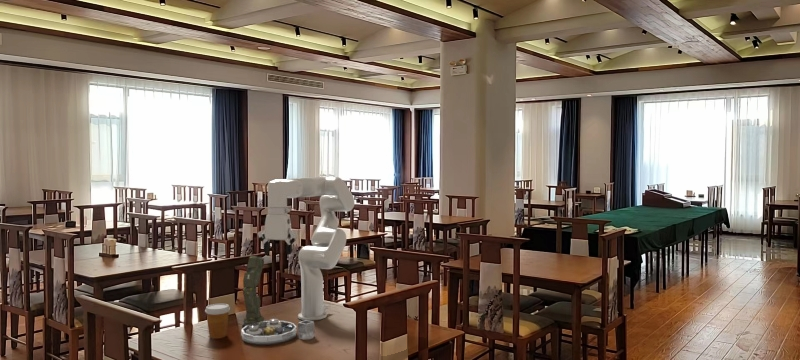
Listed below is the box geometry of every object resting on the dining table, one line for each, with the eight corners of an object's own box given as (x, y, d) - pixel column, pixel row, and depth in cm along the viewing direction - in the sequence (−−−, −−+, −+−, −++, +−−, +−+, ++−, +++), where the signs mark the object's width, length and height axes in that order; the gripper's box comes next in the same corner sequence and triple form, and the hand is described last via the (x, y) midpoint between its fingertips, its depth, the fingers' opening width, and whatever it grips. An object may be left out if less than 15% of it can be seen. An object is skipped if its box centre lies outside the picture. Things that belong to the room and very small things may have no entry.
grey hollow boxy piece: (306, 333, 235) (306, 319, 235) (317, 336, 232) (316, 321, 231) (295, 337, 230) (295, 322, 230) (306, 340, 227) (306, 325, 226)
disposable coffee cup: (200, 338, 230) (199, 308, 230) (215, 331, 239) (215, 302, 238) (220, 340, 227) (219, 310, 226) (235, 333, 236) (234, 304, 235)
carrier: (271, 325, 247) (271, 314, 247) (307, 334, 235) (307, 322, 235) (230, 338, 230) (230, 326, 230) (267, 348, 218) (266, 335, 218)
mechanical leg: (251, 329, 239) (257, 255, 244) (235, 328, 240) (242, 254, 246) (265, 327, 252) (271, 257, 258) (249, 326, 253) (256, 257, 259)
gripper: (301, 211, 237) (301, 253, 237) (262, 210, 241) (262, 251, 241) (293, 212, 229) (293, 256, 230) (253, 211, 234) (253, 254, 234)
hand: (277, 253), depth 236 cm, fingers open, 9 cm apart
